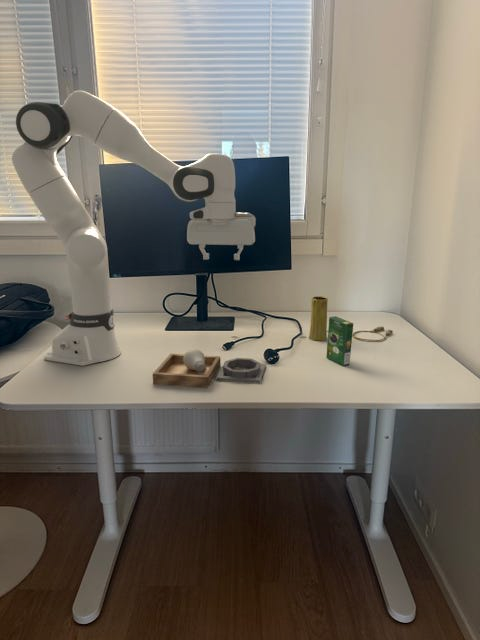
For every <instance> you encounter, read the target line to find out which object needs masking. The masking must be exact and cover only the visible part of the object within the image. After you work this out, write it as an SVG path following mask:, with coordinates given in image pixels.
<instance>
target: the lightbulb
mask: <svg viewBox="0 0 480 640" xmlns="http://www.w3.org/2000/svg"><path fill="white" fill-rule="evenodd" d="M184 354H185V355H184V358H183V362H184V365H185V366H186V367H187V368H188V369H190V370H196V371H198V372H199V373H204V372H205V371H206V365H205V356H206V355H205V354H204V352H203V351H201V350H200V349H197V348H192V349H189V350H187V351H186V352H185V353H184Z"/></svg>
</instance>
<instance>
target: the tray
mask: <svg viewBox="0 0 480 640" xmlns="http://www.w3.org/2000/svg"><path fill="white" fill-rule="evenodd" d="M184 355H185V353H184V354H183V353H170V354H169V355H168V356H167V357H166V358H165V359H164V360H163V362H161V364H160V365H159V366H158V367H157V368H156V369H155V370H154V372H152V384H153V385H161V386H176V387H187V388H188V387H189V388H190V387H191V388H204V389H208V388H209V387H210V386H211V384H212V382H213V381H212V380H214V379H215V377H216V376H217V373H218V371H220V368H221V356H219V355H218V356H216V355H215V356H214V355H204V356H205V365H206V371H205V372H204V373H199V372H198V371H196V370H190V369H188V368H187V367H186V366H185V365H184V362H183V358H184Z"/></svg>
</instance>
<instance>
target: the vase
mask: <svg viewBox="0 0 480 640" xmlns="http://www.w3.org/2000/svg"><path fill="white" fill-rule="evenodd" d="M310 309H311V310H310V311H311V312H310V325H309V335H308V338H309V339H310V340H311V341H315V342H323V341H325V340H328V331H327V330H328V326H327V325H328V324H327V323H328V297H325V296H321V295H318V296H312V297H311V307H310Z"/></svg>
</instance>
